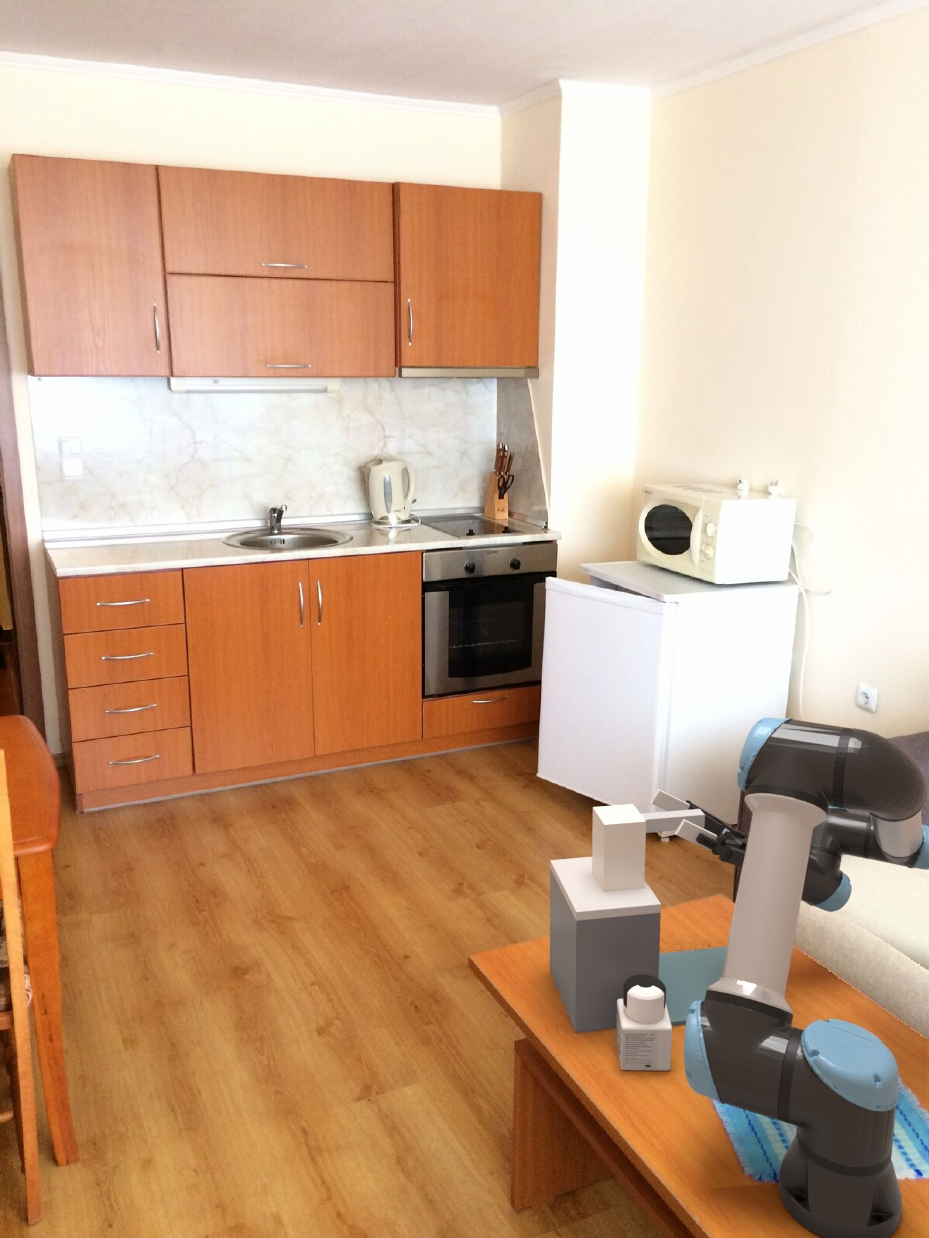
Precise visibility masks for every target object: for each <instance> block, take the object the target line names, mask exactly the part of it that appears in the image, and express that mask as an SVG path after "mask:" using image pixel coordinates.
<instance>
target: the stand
mask: <svg viewBox="0 0 929 1238" xmlns="http://www.w3.org/2000/svg"><path fill="white" fill-rule="evenodd" d="M549 862H550V863H549V865H550V867H549V869H550V872H549V873H550V874H549V876H550V877H549V973H550V972H551V973H550V975H552V976H551V978H552V980H554V981H553V983H554V986H555V988H556V991H557V992H558V995H559V998H560V1000H561V1002H562V1005H563V1007H564V1010H565V1012H566V1014H567V1017H568V1020H569V1022H570V1024H571V1027H572V1029H573V1031H574V1033H575V1034H577V1033H578V1034H579V1033H586V1032H587V1033H588V1032H595V1031H597V1032H598V1031H604V1030H606V1031H607V1030H616V1023H617V1000H618V999H623V991H624V983H625V981H626V980H627V979H628V978H630V977H631V976H634V975H640V974H644V975H651V976H654V977H656V978H658V979H659V953H660V950H661V949H660V948H661V947H660V946H661V945H660V944H661V939H660V938H661V913H662V904H661V902H660V900H659V899H658V897H657V896H656V894H655V893H654V891H653V890H652V888H651V887H650V885H649V884H648V883H647V881H646V879H645V878H644V888H641V889H630V890H619V891H608V892H603V891H602V889H601V887H600V885H599V884H598V882H597V880H596V878H595V877H594V875H593V873H592V856H584V857H574V858H573V857H572V858H564V859H563V858H560V859H550V861H549Z"/></svg>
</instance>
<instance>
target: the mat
mask: <svg viewBox="0 0 929 1238" xmlns="http://www.w3.org/2000/svg"><path fill="white" fill-rule="evenodd" d="M726 949H727V945H726V946H719V947H708V948H698V949H687V950H680V951H679V950H677V951H670V952H659V979H660V980H661V981H662V982H663V983H664V985H665V987H666V1006H667V1010H668V1014H669V1018H670V1022H671V1026H672V1027H675V1026H676V1027H677V1026H686V1019H687V1016H688V1014H689V1008H690V1006H691V1004H692V1003H693V1002H694V1001H699V1000H702V1001H704V1000H705V995H706V990H707V988H708V987H709V986H711V985H713V984H714V983H716V982H717V981H719V979H720V978H721V974H722V969H723V964H724V959H725V954H726Z"/></svg>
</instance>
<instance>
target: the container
mask: <svg viewBox="0 0 929 1238" xmlns="http://www.w3.org/2000/svg"><path fill="white" fill-rule="evenodd" d="M615 1031H616V1032H615V1035H616V1036H615V1040H616V1045H617V1046H616V1047H617V1054H618V1058H619V1065H620V1069H621V1070H622V1071H666V1072H667V1071H670V1070H671V1069H672V1046H673V1045H672V1043H673V1041H672V1040H673V1039H672V1038H673V1026H671V1022H670V1018H669V1014H668V1010H667V1006H666V987H665V985H664V983H663V982H662V981H661V980H660V979H658V978H656V977H654V976H651V975H644V974H640V975H634V976H631V977H630V978H628V979H627V980H626V981H625V983H624V991H623V999H618V1000H617V1023H616V1029H615Z"/></svg>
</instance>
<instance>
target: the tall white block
mask: <svg viewBox="0 0 929 1238" xmlns="http://www.w3.org/2000/svg"><path fill="white" fill-rule="evenodd" d="M683 819H685V820H687V821H689V822H691V823H693V824H695V825H697V826H699V827H701V828H704V825H705V814H704V813H703V812H702V811H701V810H700V809H692V810H680V811H656V812H645V813H643V812H642V813H640V811H639V809H637V807H636V806H635V805H634V803H631V804H630V803H627V804H614V805H605V806H603V805H602V806H593V807H592V832H591V833H592V836H591V837H592V846H591V847H592V848H591V857H592V873H593V875H594V877H595V878H596V880H597V882H598V884H599V885H600V887H601V889H602V891H603V892H608V891H619V890H630V889H641V888H644V879H645V875H646V874H645V872H646V871H645V869H646V868H645V867H646V837H647V835H646V834H648V833H662V832H672V831H675V832H676V830H677V829H678V827H679V826H680V824H681V822H682V821H683Z"/></svg>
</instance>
